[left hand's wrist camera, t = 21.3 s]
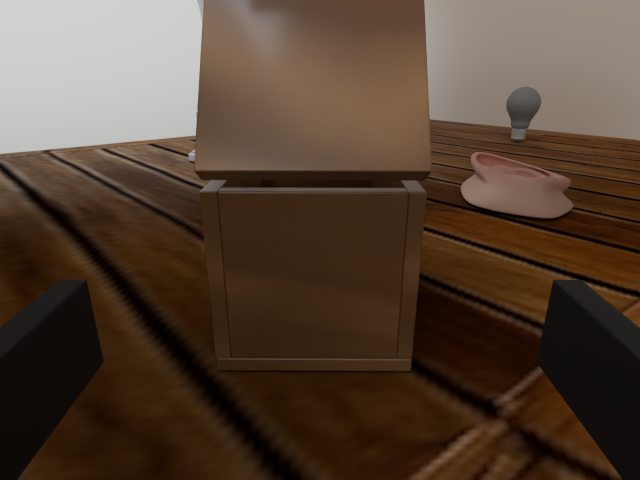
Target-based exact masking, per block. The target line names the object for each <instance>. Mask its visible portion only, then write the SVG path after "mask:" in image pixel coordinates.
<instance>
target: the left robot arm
mask: <svg viewBox="0 0 640 480" xmlns="http://www.w3.org/2000/svg"><path fill="white" fill-rule="evenodd" d="M103 362H104V361H103V357H102V352H101V347H100V342H99V338H98V333H97V328H96V323H95V318H94V314H93V309H92V304H91V299H90V295H89V290H88V285H87V280H59V281H57V282H56V283H55V284H54V285H52V286H51V287H50V288H49V289H48V290H46V291H45V292H44V293H43V294H41V295H40V296H39V297H38V298H37V299H35V300H34V301H33V302H32V303H30V304H29V305H28V306H27V307H26V308H24V309H23V310H22V311H21V312H19V313H18V314H17V315H16V316H14V317H13V318H12V319H11V320H10V321H8V322H7V323H6V324H5V325H3V326H2V327H1V328H0V480H17V479H18V478H19V476H20V475H21V474H22V472H23V471H24V470H25V468H26V467H27V465H28V464H29V463H30V461H31V460H32V459H33V457H34V456H35V455H36V453H37V452H38V450H39V449H40V448H41V446H42V445H43V444H44V442H45V441H46V440H47V438H48V437H49V436H50V434H51V433H52V431H53V430H54V429H55V427H56V426H57V425H58V423H59V422H60V421H61V419H62V418H63V416H64V415H65V414H66V412H67V411H68V410H69V408H70V407H71V406H72V404H73V403H74V401H75V400H76V399H77V397H78V396H79V395H80V393H81V392H82V391H83V389H84V388H85V387H86V385H87V384H88V382H89V381H90V380H91V378H92V377H93V376H94V374H95V373H96V372H97V370H98V369H99V367H100V366H101V365H102V363H103ZM536 362H537V363H538V365H539V366H540V367H541V369H542V370H543V372H544V373H545V374H546V376H547V377H548V378H549V380H550V381H551V382H552V384H553V385H554V387H555V388H556V389H557V391H558V392H559V393H560V395H561V396H562V397H563V399H564V400H565V401H566V403H567V404H568V406H569V407H570V408H571V410H572V411H573V412H574V414H575V415H576V416H577V418H578V419H579V421H580V422H581V423H582V425H583V426H584V427H585V429H586V430H587V431H588V433H589V434H590V436H591V437H592V438H593V440H594V441H595V442H596V444H597V445H598V446H599V448H600V449H601V450H602V452H603V453H604V455H605V456H606V457H607V459H608V460H609V461H610V463H611V464H612V465H613V467H614V468H615V470H616V471H617V472H618V474H619V475H620V476H621V478H622V479H623V480H640V328H639V327H638V326H637V325H635V324H634V323H633V322H632V321H630V320H629V319H628V318H627V317H626V316H624V315H623V314H622V313H621V312H619V311H618V310H617V309H616V308H614V307H613V306H612V305H611V304H610V303H608V302H607V301H606V300H605V299H603V298H602V297H601V296H600V295H599V294H597V293H596V292H595V291H594V290H592V289H591V288H590V287H589V286H588V285H586V284H585V283H584V282H583V281H581V280H553V285H552V290H551V295H550V299H549V304H548V309H547V314H546V318H545V323H544V328H543V333H542V338H541V342H540V347H539V352H538V357H537V361H536Z"/></svg>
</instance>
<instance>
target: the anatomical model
mask: <svg viewBox="0 0 640 480" xmlns="http://www.w3.org/2000/svg"><path fill="white" fill-rule="evenodd" d="M471 164H472V167H473V169H474V171H475V174H474V175H473V176H472V177H470V178H469V179H467V180H466V181H465V182H464V183H463V184H462V185H461V193H462V195H463V197H464V198H465V200H466V201H468V202H469V203H470V204H472V205H475V206H478V207H481V208H484V209H488V210H492V211H497V212H502V213H507V214H513V215H519V216H525V217H533V218H544V219H549V218H556V217H559V216H562V215H564V214H566V213H568V212H569V211H570V210H571V209H572V208H573V207H574V205H573V203H572V202H571V201H570V200H569V199H568V198H567V197H566V196H565V195H564V194H563V192H564V191H565V190H566V189H567V188H569V186H570V184H571V180H570V179H569V178H567V177H564V176H561V175H558V174H555V173H552V172H549V171H546V170H543V169H540V168H537V167H534V166H531V165H528V164H525V163H521V162H518V161H514V160H511V159H507V158H504V157H500V156H497V155H493V154H489V153H483V152H477V153H474V154H473V155H472V156H471Z"/></svg>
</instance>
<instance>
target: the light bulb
mask: <svg viewBox="0 0 640 480" xmlns="http://www.w3.org/2000/svg"><path fill="white" fill-rule="evenodd" d="M540 105H541V98H540V96H539V94H538V92H537V91H536V90H535V89H533V88H530V87H522V88H519V89H516V90H515V91H514V92H512V94H511V95H510V96H509V98H508V100H507V111H508V113H509V116H510V118H511V126H512V131H513V132H512V134H511V135H512V136H511V138H512V139H513V140H515V141H521V140H523V139H525V132H526V131H527V128H528V127H529V124H530V121H531V119H532V118H533V117H534V115H535V114H536V113H537V111H538V110H539V108H540Z"/></svg>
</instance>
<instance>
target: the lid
mask: <svg viewBox="0 0 640 480" xmlns="http://www.w3.org/2000/svg"><path fill="white" fill-rule="evenodd" d="M194 171H195V173H196V174H197V175H198V176H199V177H200V179H201V180H368V181H424V180H426V178H427V177H428V176H429V174H430V173H431V171H432V167H431V145H430V122H429V100H428V77H427V55H426V32H425V10H424V0H204V7H203V25H202V42H201V59H200V76H199V94H198V111H197V128H196V145H195V162H194Z"/></svg>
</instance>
